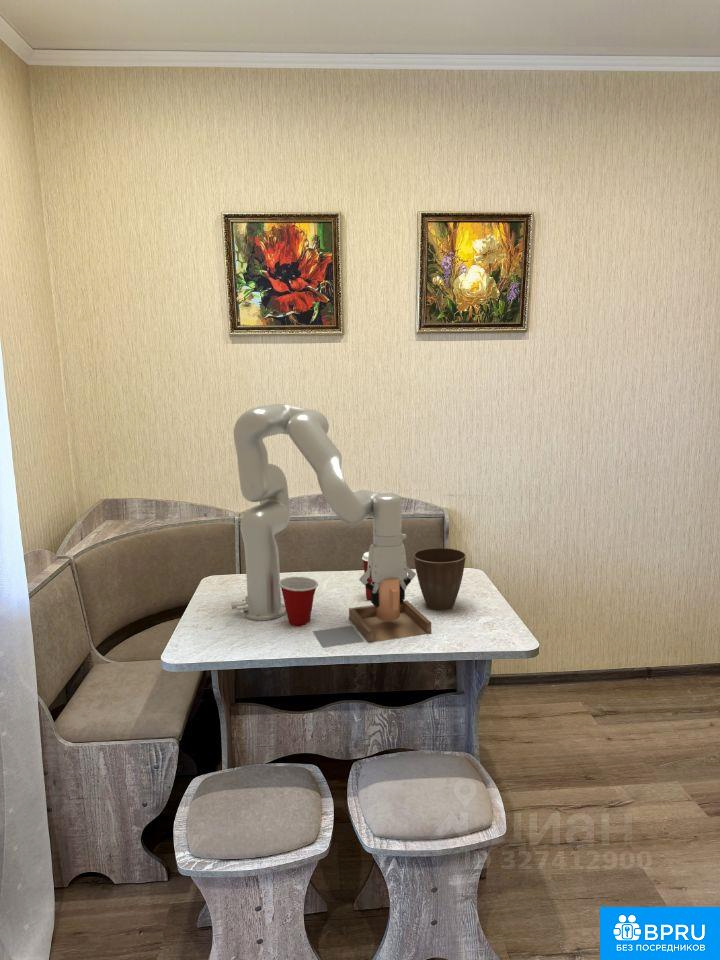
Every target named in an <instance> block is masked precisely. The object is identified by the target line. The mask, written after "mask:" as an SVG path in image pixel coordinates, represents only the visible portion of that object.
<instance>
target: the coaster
mask: <svg viewBox="0 0 720 960" xmlns="http://www.w3.org/2000/svg"><path fill="white" fill-rule="evenodd" d="M312 633H313V634H314V636H315V638H316V640H317V641H318V643H319V644H320V646H321V648H323V649H325V648H331V647H337V646H344V645H351V644H356V643H357V644H358V643H363V642H365V641H364V639H363V638H362V637H361V634H359V633H358V632H357V629H355V628H354V626H352V625H347V626H341V627H340V626H339V627H333V628H327V629H319V630H313V631H312Z"/></svg>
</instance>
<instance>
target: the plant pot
mask: <svg viewBox="0 0 720 960" xmlns="http://www.w3.org/2000/svg"><path fill="white" fill-rule="evenodd" d="M466 558H467V555H466V553H465V552H463V551H462V550H458V549H455V548H447V547H434V548H433V547H431V548H425V549H420V550H417V551H416V552H414V553H413V560H414V567H415V574H416V576H417V580H418V585H419V589H420V591H421V594H422V597H423V600H424V603H425V605H426V607H427V609H430V610H433V611H439V612H440V611H448V610H452V609H454V606H455V603H456V601H457V598H458V594H459V593H460V592H459V591H460V589H461V586H462V585H461V584H462V580H463V576H464V570H465V565H466Z"/></svg>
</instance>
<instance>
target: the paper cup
mask: <svg viewBox="0 0 720 960" xmlns="http://www.w3.org/2000/svg"><path fill="white" fill-rule="evenodd" d="M368 556H369V551H366V552H364V553H363V555H362V557H361V559H362V562H363V574H364V573H365V572H366V571H367V568H368ZM367 582H368V583H369V584H371V582H372V579H370V578H368V579H367ZM364 586H365V585H364ZM364 588H365V597H366V600H367V601H370V602H371V591H370V590H369V589H368V588H367V587H366V586H365V587H364Z"/></svg>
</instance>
